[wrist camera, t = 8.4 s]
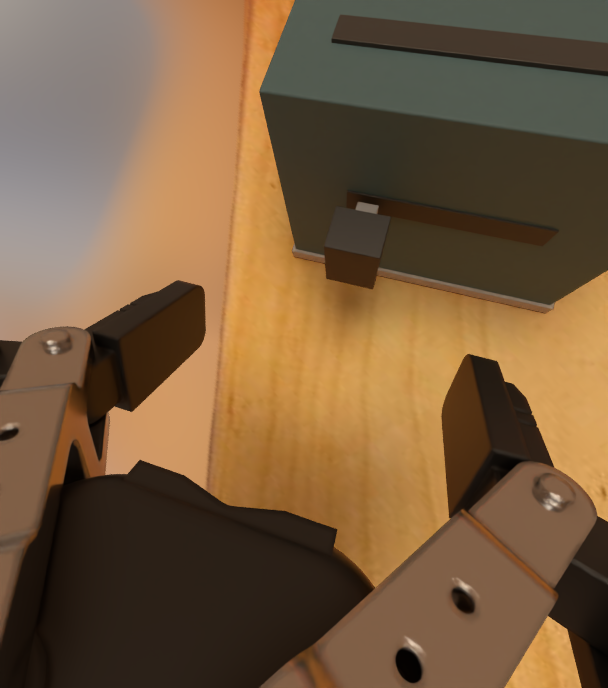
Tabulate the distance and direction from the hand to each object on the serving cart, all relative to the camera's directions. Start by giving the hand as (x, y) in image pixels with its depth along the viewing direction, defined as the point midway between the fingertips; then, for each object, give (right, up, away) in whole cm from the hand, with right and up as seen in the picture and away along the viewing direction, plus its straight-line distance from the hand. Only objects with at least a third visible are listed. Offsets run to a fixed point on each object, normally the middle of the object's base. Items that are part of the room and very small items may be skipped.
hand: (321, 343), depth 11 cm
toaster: (+8, +9, +13) cm, 18 cm away
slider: (+2, +4, +7) cm, 9 cm away
